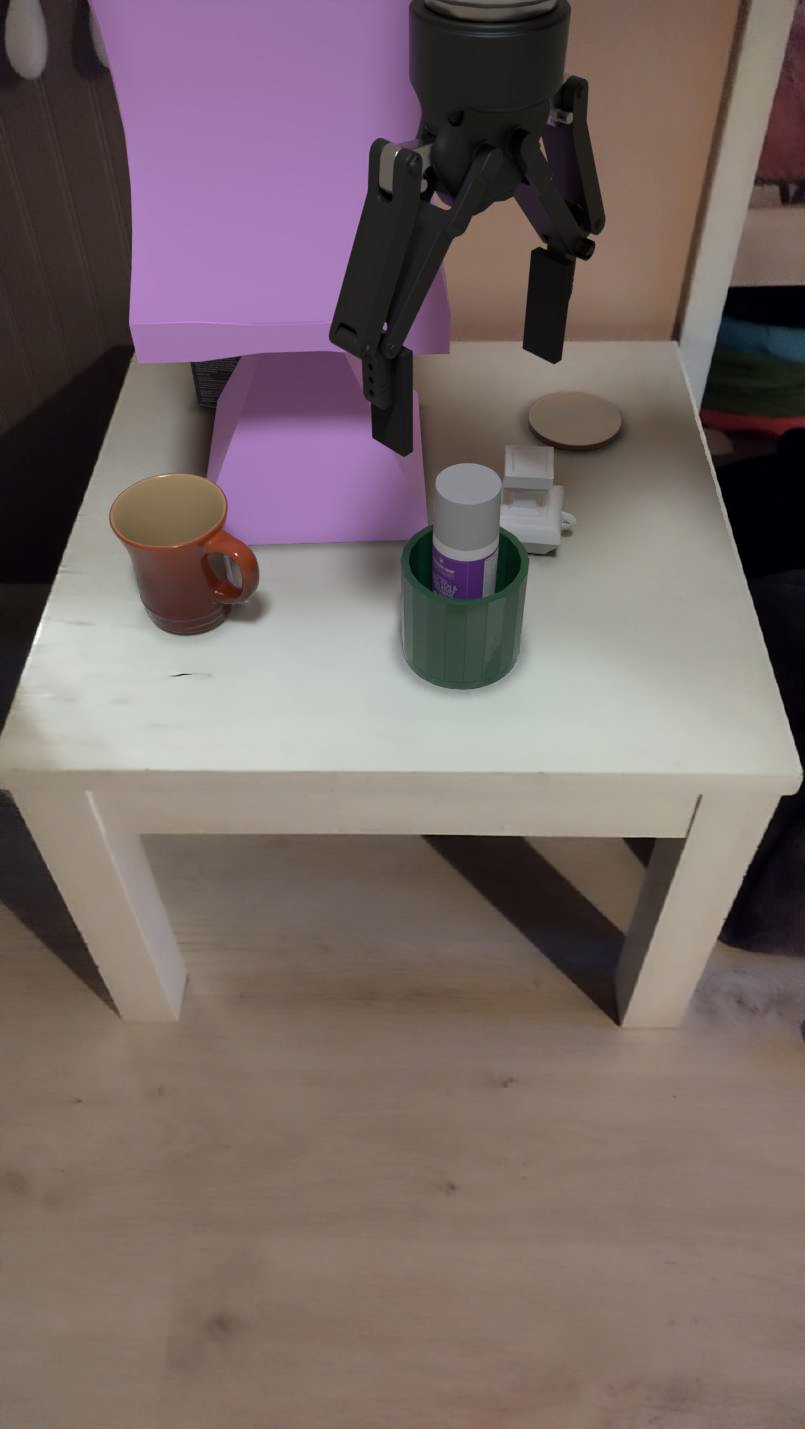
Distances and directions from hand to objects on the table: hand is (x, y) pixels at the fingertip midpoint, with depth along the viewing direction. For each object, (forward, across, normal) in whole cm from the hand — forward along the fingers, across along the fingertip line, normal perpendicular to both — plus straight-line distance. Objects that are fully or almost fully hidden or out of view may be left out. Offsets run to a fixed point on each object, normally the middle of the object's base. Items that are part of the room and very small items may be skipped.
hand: (470, 398), depth 63 cm
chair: (+22, -7, -24) cm, 34 cm away
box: (+23, -10, -41) cm, 48 cm away
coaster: (+22, -30, -12) cm, 39 cm away
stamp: (+22, -13, -5) cm, 26 cm away
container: (+22, 0, 0) cm, 22 cm away
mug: (+22, +12, -17) cm, 30 cm away
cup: (+22, 0, 0) cm, 22 cm away
